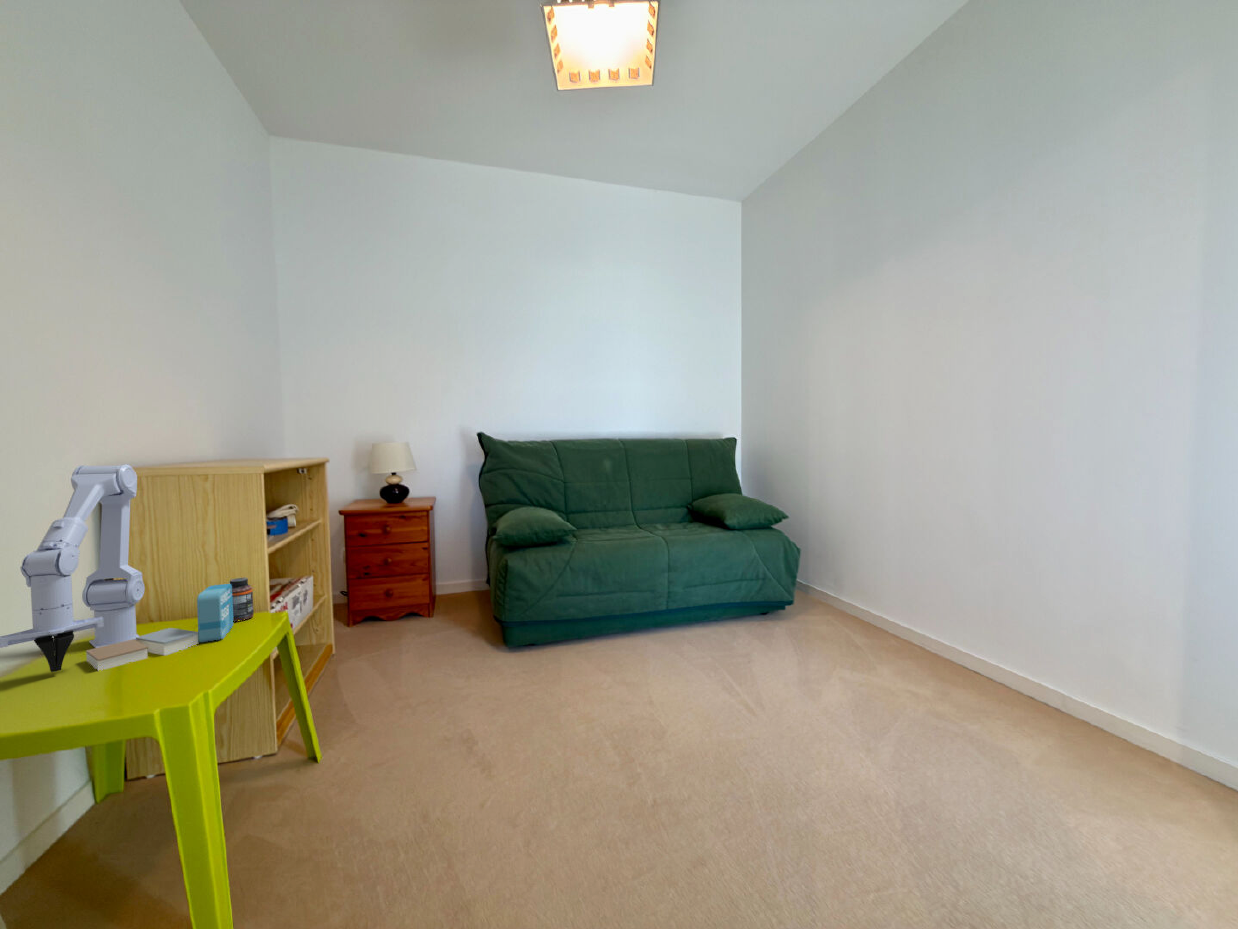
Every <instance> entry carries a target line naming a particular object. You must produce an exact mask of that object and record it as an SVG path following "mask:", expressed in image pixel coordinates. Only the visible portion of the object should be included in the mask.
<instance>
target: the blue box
mask: <svg viewBox="0 0 1238 929" xmlns="http://www.w3.org/2000/svg"><path fill="white" fill-rule="evenodd" d="M196 606H197V607H196V608H197V609H196V610H197V630H198V631H197V632H199V634H198V643H207V642H208V641H209V642H214V640H216V641H221V640H220V639H222V640H224V639H225V637H226V636H227V635H228V634H229V633H230V631H231V630H232V629H233V627H234V622H233V599H232V585H231V584H230V583H224V584H223V583H222V584H214V585H209V586H208V587H207V588H205V589H204V590H203V591H201V592H200V593H199V594H198V595H197V599H196ZM232 626H233V627H232ZM231 628H232V629H231ZM230 629H231V630H230ZM227 633H228V634H227ZM226 634H227V635H226Z"/></svg>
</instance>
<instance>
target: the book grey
mask: <svg viewBox="0 0 1238 929" xmlns="http://www.w3.org/2000/svg"><path fill="white" fill-rule="evenodd" d="M198 634H199V632H198V631H194V630H186V629H182V628H181V629H179V628H174V627H173V628H172V627H168V628H164V629H160V630H158V631H154V632H150V633H146V634H143V635H139V637H136V638H135V639H136V640H137V641H138V642H140V643H142V644H143V645H145V646H147V647H148V649H147V653H148V654H150V653H151V654H154V655H155V654H156V655H158V656H159V655H161V656H168V655H171V654H174V653H177V652H180V651H179V650H181V651H184V650H187V649H189V648H188V647H190V648H192V647H191V646H193V645H196V644H199V636H198ZM196 646H197V645H196ZM193 647H194V646H193Z"/></svg>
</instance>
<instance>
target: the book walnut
mask: <svg viewBox="0 0 1238 929" xmlns="http://www.w3.org/2000/svg"><path fill="white" fill-rule="evenodd" d="M147 649H148V647H147V646H145V645H143V644H142V643H140V642H138V641H137V640H135V639H132V640H128V641H124V642H119V643H115V644H111V645H107V646H103V647H98V648H95V647H94V648H91V649H87V650H85V652H86V663H87V662H89V663H90V664H91V665H92V666H93V667H92V666H91V665H90V664H89V663H88V664H89V665H90V666H91V667H92V668H94V670H96V669H97V670H98V671H97V670H96V671H97V672H100V671H99V670H101V671H103V669H104V670H108V669H111V668H115V667H119V666H122V665H127V664H130V663H129V662H131V663H134V662H137V661H141V660H142V661H143V660H145V659H148V658H149V657H148V656H149V655H148V652H147ZM126 663H127V664H126Z"/></svg>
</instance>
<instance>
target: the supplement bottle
mask: <svg viewBox="0 0 1238 929" xmlns="http://www.w3.org/2000/svg"><path fill="white" fill-rule="evenodd" d="M229 584H231V585H232V599H233V621H238V620H244V619H248V620H250V619H251V617H252V618H254V597H253V594H254V593H253V586H252V585H250V584H249V581H248V578H247V577H237V578H233V579H230V580H229ZM249 618H250V619H249Z"/></svg>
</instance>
